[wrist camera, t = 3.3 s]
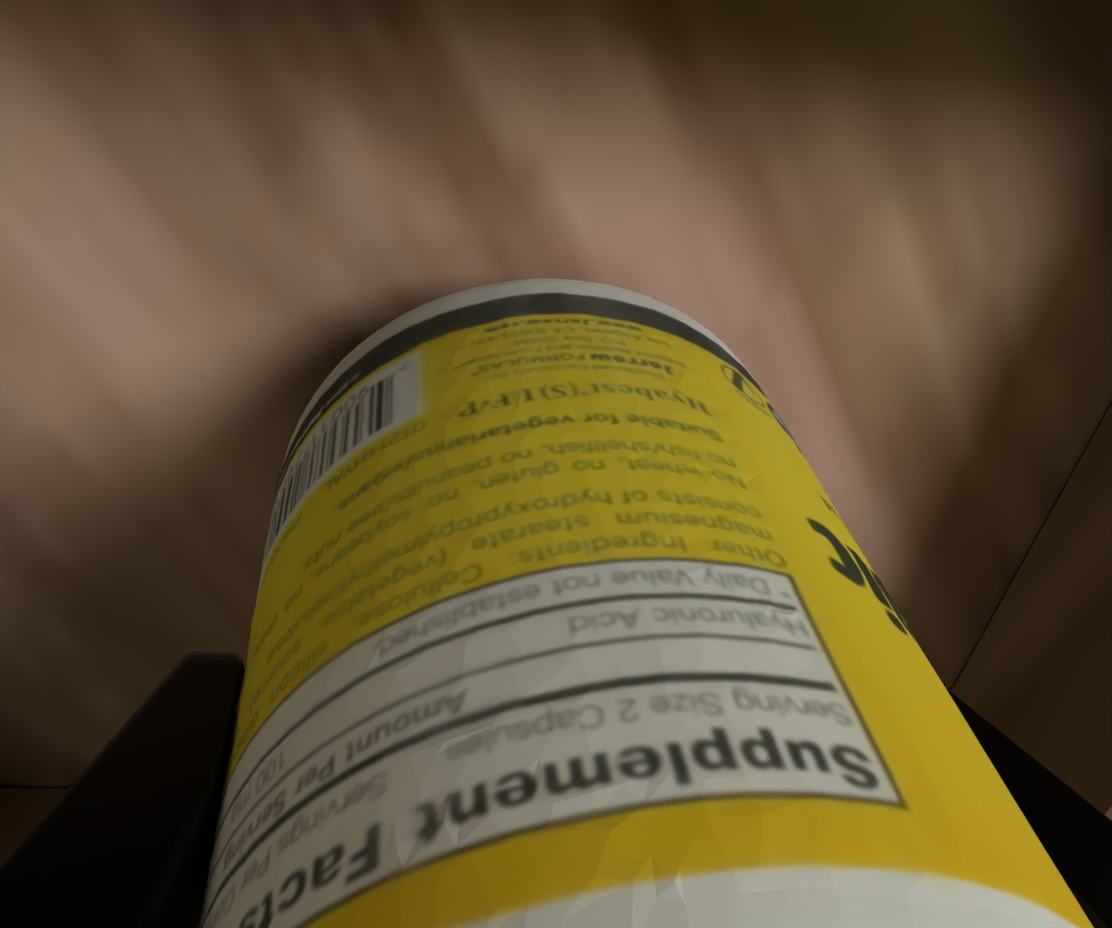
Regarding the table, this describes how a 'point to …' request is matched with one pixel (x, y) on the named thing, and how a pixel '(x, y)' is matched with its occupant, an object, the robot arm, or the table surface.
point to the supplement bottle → (589, 657)
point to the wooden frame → (980, 651)
